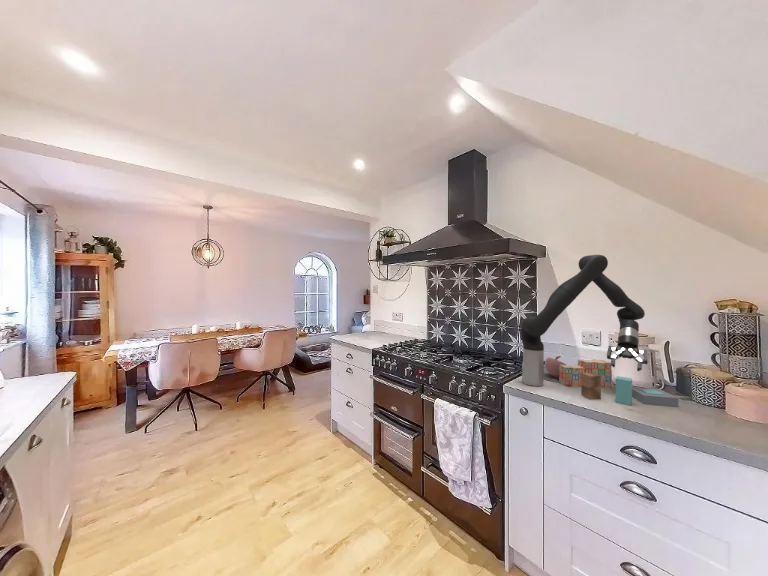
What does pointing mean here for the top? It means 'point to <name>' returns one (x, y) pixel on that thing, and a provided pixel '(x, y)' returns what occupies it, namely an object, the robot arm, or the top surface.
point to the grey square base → (654, 396)
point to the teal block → (624, 390)
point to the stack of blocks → (572, 373)
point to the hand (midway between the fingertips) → (625, 368)
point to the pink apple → (553, 366)
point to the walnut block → (591, 385)
